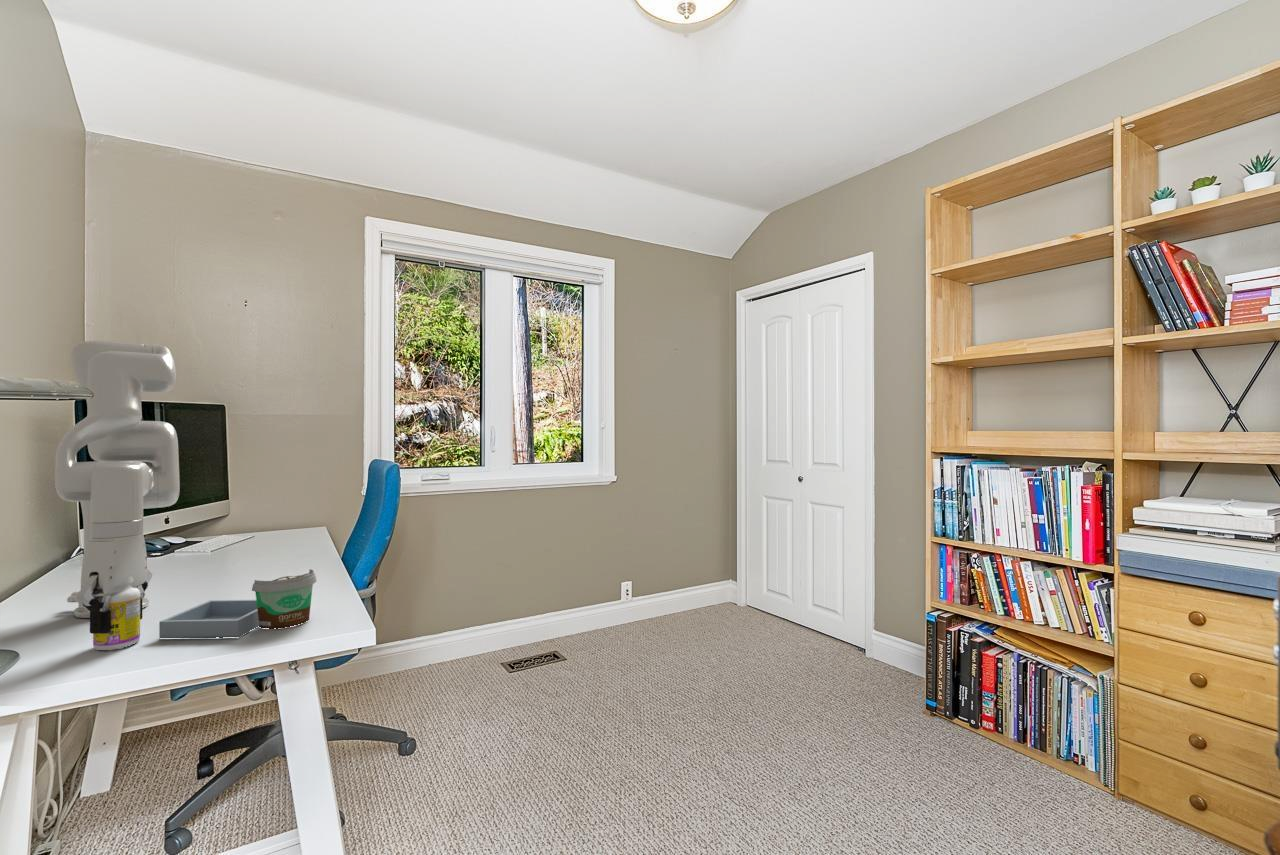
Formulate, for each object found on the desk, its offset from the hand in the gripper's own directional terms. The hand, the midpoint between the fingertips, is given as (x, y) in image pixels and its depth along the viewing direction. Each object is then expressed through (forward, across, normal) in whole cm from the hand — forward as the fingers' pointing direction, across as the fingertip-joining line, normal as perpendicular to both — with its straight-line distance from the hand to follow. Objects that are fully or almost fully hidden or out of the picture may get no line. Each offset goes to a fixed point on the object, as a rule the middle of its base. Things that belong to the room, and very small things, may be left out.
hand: (117, 625), depth 113 cm
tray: (+4, -10, +13) cm, 17 cm away
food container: (+4, -11, +26) cm, 29 cm away
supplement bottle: (+4, 0, 0) cm, 4 cm away
